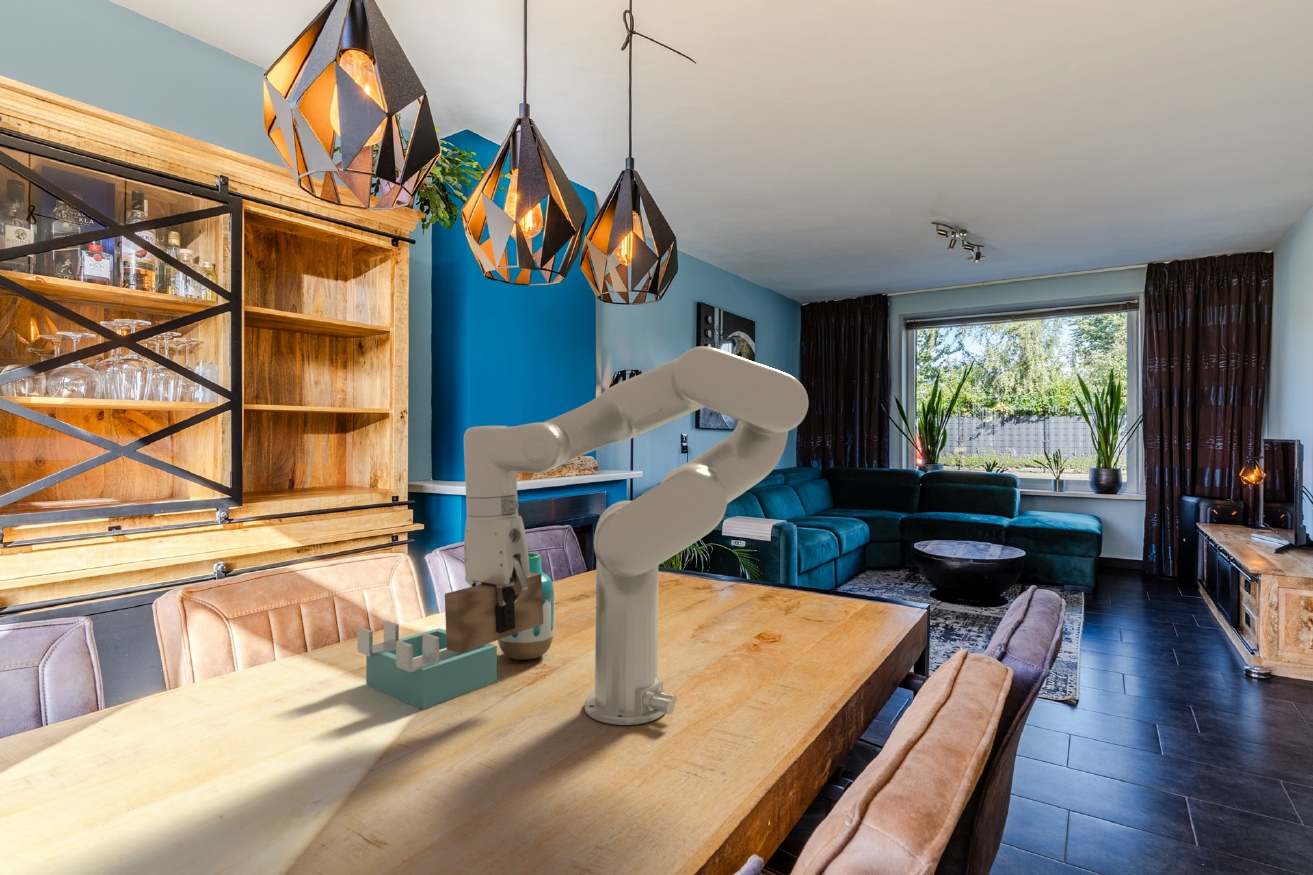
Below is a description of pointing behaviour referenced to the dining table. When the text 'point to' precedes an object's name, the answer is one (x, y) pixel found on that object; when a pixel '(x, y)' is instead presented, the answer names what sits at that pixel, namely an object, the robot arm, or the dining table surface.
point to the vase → (540, 636)
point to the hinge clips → (399, 647)
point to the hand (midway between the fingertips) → (497, 627)
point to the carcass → (433, 672)
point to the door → (488, 614)
